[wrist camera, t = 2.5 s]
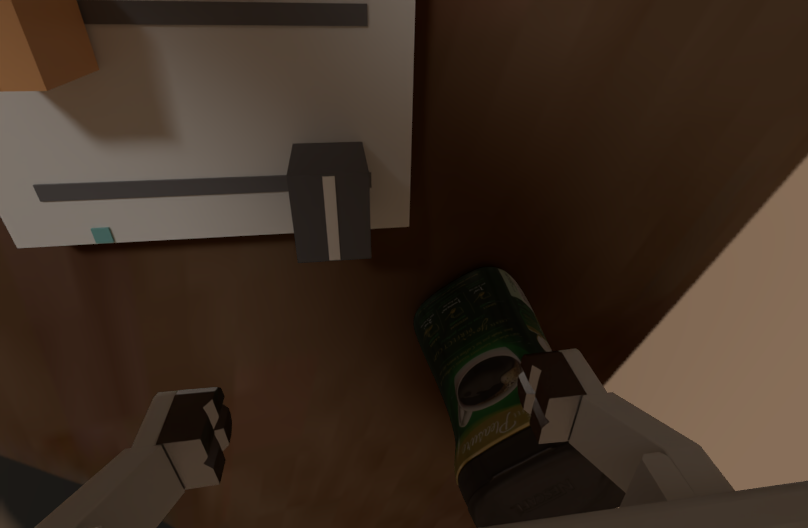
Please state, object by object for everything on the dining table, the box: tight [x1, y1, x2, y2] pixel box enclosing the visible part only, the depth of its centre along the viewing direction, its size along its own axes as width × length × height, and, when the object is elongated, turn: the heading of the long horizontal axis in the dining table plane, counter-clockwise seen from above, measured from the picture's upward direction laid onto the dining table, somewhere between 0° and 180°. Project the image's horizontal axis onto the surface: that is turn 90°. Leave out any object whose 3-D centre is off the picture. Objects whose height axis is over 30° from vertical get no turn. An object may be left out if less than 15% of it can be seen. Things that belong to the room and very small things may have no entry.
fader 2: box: [286, 142, 371, 263], centre depth 25 cm, size 4×5×5 cm
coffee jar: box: [414, 267, 626, 528], centre depth 31 cm, size 10×8×19 cm
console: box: [0, 0, 415, 248], centre depth 25 cm, size 24×16×3 cm, turn 89°
